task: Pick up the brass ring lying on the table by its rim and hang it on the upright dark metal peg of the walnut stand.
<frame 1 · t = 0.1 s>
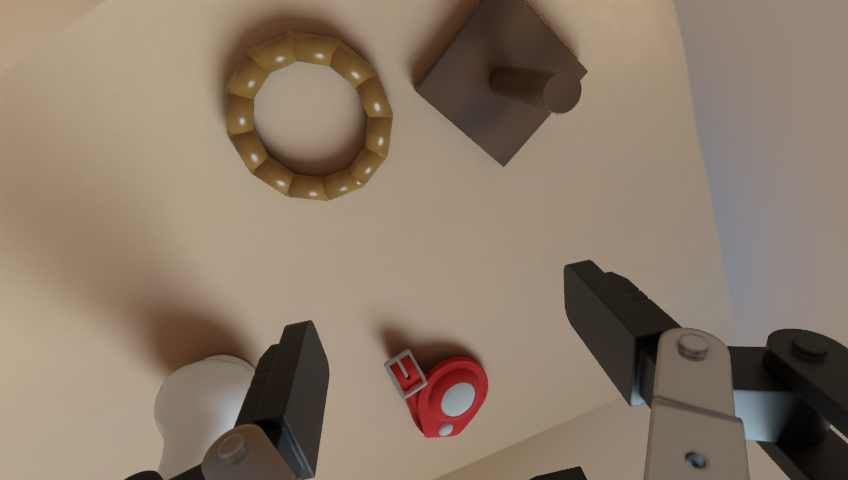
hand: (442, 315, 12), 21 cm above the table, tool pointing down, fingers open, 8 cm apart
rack: (497, 80, 30), on the table
tracker holder: (435, 373, 42), on the table
flower vase: (218, 374, 39), on the table
ring: (311, 123, 29), point 1 cm above the table
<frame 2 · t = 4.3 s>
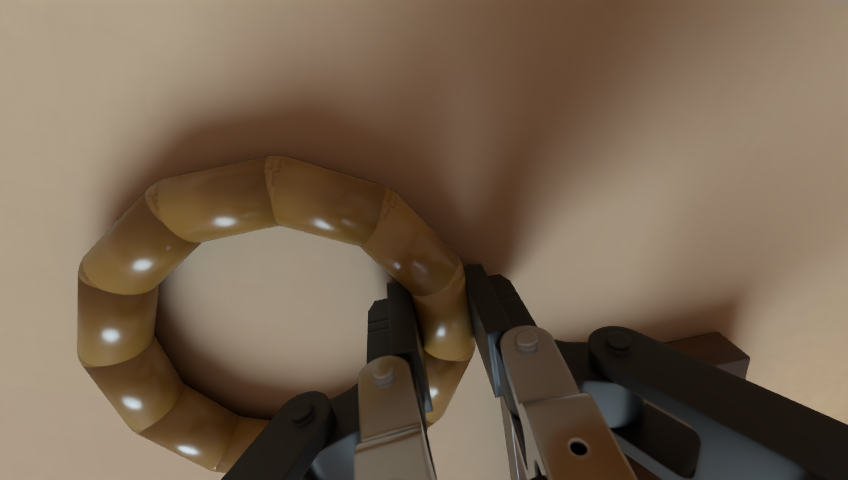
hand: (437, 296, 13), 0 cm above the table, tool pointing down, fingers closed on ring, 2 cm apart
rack: (606, 432, 17), on the table
ring: (291, 343, 13), point 1 cm above the table, touching gripper
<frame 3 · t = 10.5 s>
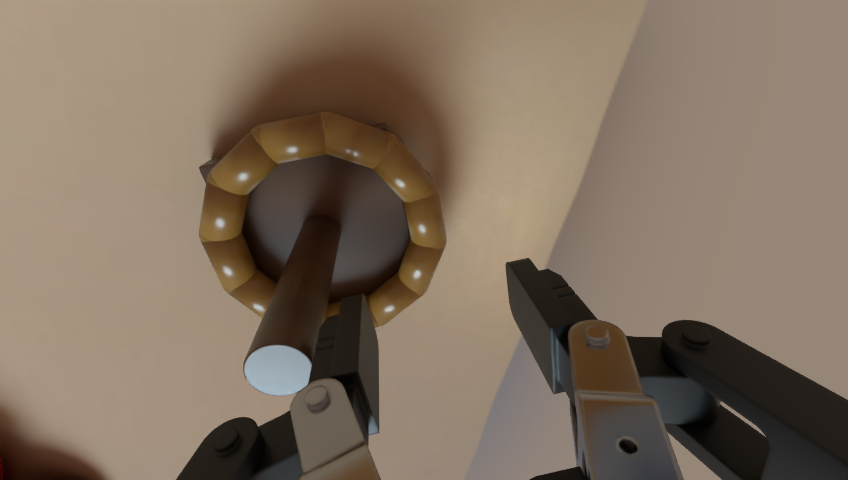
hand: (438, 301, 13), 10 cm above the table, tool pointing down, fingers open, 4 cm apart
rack: (324, 221, 22), on the table
ring: (328, 236, 20), point 2 cm above the table, touching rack
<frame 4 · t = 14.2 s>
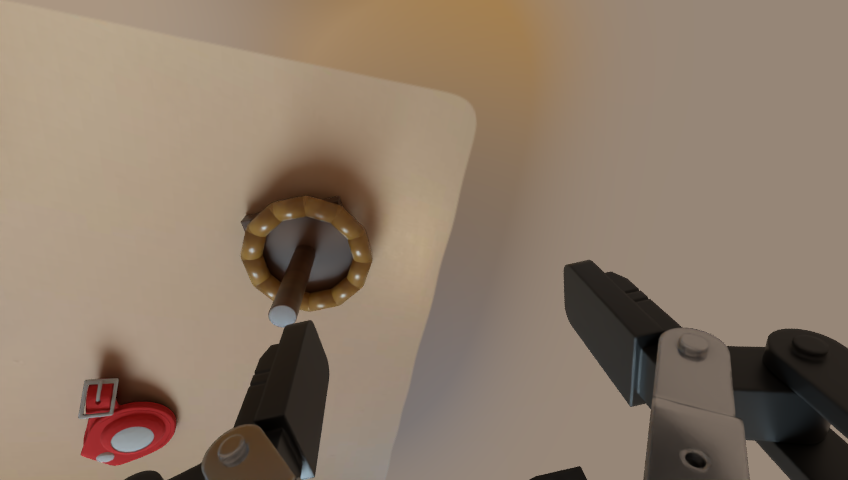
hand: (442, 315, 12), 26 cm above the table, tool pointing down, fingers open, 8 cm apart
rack: (307, 247, 39), on the table
tracker holder: (133, 406, 45), on the table
ring: (308, 256, 37), point 2 cm above the table, touching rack
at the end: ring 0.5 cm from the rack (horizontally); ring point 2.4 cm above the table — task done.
